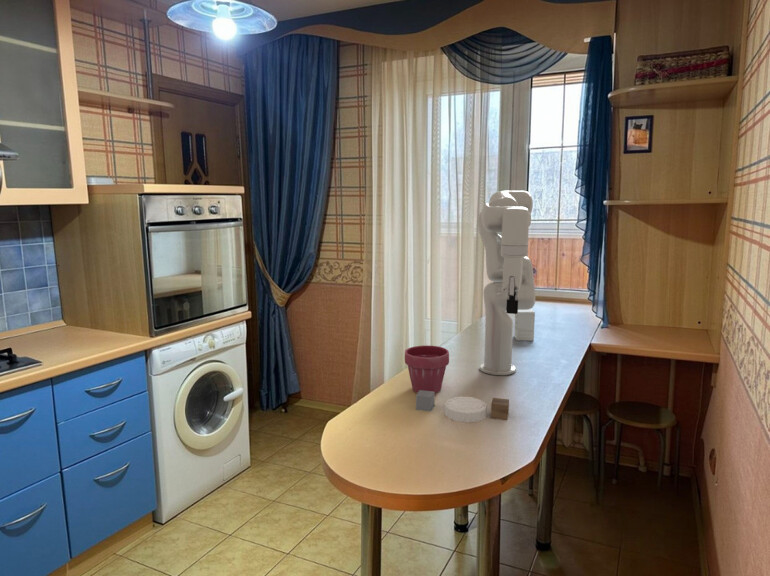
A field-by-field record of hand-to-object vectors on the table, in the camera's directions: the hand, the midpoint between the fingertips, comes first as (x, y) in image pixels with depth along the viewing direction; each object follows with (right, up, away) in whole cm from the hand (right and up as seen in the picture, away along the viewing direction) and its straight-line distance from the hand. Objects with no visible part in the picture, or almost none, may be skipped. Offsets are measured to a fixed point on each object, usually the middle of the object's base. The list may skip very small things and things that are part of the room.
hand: (512, 312), depth 161 cm
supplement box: (+22, -15, +75) cm, 79 cm away
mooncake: (-15, -29, -5) cm, 33 cm away
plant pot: (-24, -25, +14) cm, 38 cm away
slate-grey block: (-26, -28, -1) cm, 38 cm away
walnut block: (-5, -29, -7) cm, 30 cm away
